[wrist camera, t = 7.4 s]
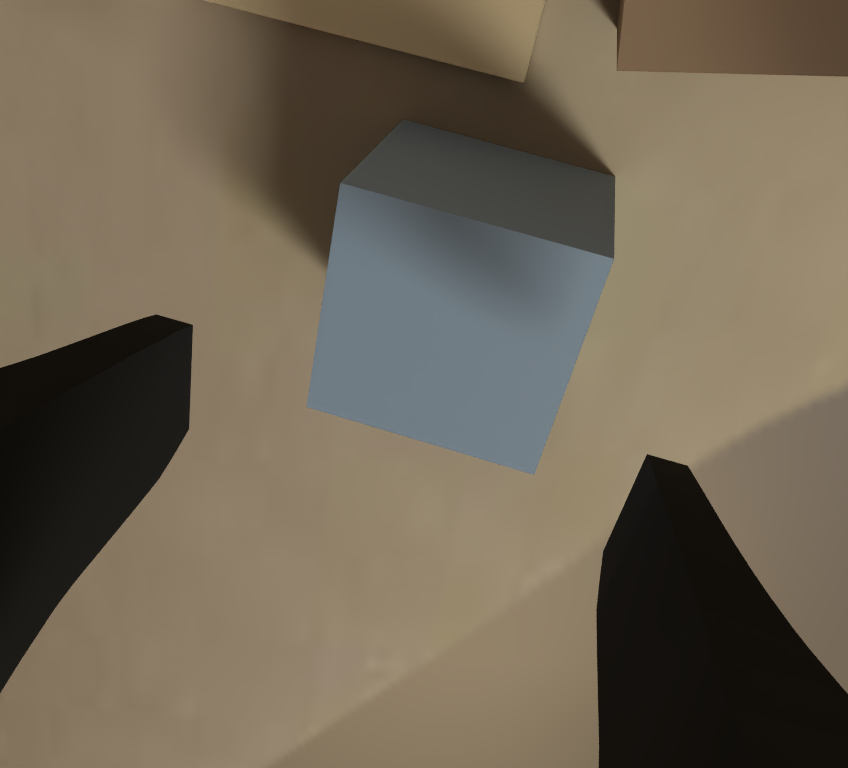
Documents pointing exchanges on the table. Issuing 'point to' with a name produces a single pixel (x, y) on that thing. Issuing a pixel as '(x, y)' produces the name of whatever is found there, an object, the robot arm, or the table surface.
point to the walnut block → (734, 36)
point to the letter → (424, 27)
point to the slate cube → (460, 292)
